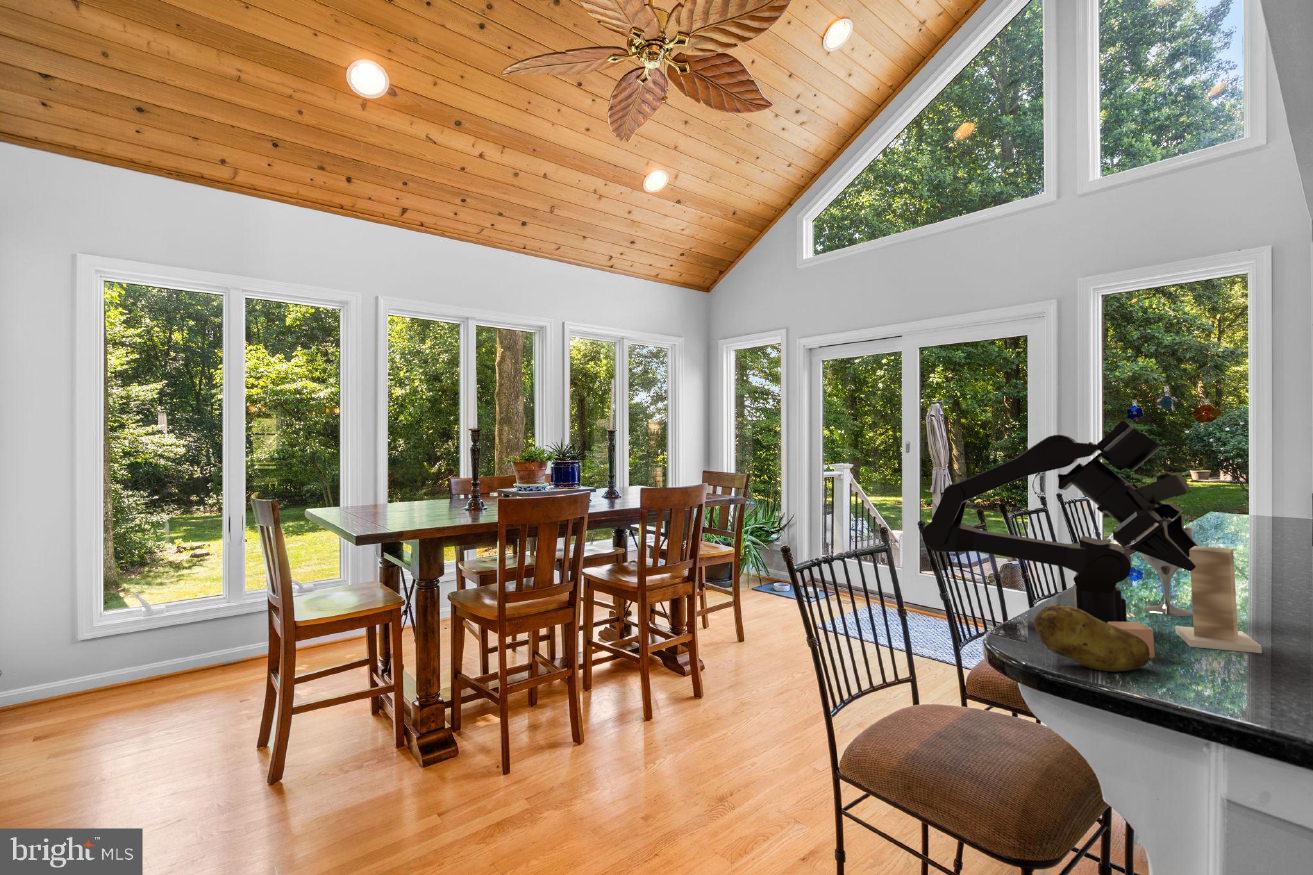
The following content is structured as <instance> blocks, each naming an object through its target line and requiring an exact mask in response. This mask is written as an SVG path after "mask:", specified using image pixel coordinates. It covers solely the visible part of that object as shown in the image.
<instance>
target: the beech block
mask: <svg viewBox="0 0 1313 875" xmlns="http://www.w3.org/2000/svg"><path fill="white" fill-rule="evenodd" d="M1189 554H1190V558H1189V559H1190V560H1191V561H1192V562H1193V563H1194V564H1195V565H1196V568H1195V569H1193V570H1192V571H1190V582H1191V583H1190V585H1191V586H1190V588H1191V602H1192V603H1191V604H1192V612H1193V615H1192V618H1193V620H1192V621H1193V623H1192V624H1193V627H1194V636H1199V637H1205V638H1212V639H1219V640H1225V641H1232V642H1235V640H1236V638H1237V636H1238V631H1239V626H1238V624H1239V623H1238V606H1237V591H1236V577H1235V576H1236V574H1235V560H1234V559H1235V558H1234V548H1229V547H1212V546H1199V545H1198V546H1194V547H1192V548H1191V549H1190V550H1189Z"/></svg>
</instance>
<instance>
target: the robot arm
mask: <svg viewBox="0 0 1313 875" xmlns="http://www.w3.org/2000/svg"><path fill="white" fill-rule="evenodd" d="M1161 448H1163V446H1161V445H1160V444H1159V443H1157V442H1156V441H1155V440H1153V439H1152V438H1150V436H1148V435H1147V434H1145V433H1143V431H1138V430H1137V429H1136V428H1134V427H1133V426H1132V425H1131V424H1129V423H1127V421H1125V420H1121V421H1120V422H1118V423H1117V424H1116V425H1115V426H1114V428H1113V429H1112V430H1111V431H1110V432H1109V433H1107V435H1106V436H1104V437H1103V438H1102V439H1101V440H1100V441H1099V442H1098V443H1093V442H1092V441H1089V442H1088V443H1087V442H1077V441H1076V440H1075V439H1074V438H1073V437H1071V436H1069V435H1064V434H1054V435H1049V436H1047V437H1045V438H1043V439H1042V440H1040V441H1039V442H1038V443H1036V444H1034V445H1033V446H1031V447H1029V448H1028V449H1027V450H1025V451H1023V453H1021V454H1019V455H1018V456H1017V457H1014V458H1012V459H1011V460H1008V461H1006V462H1004V463H1001V464H998V465H997V466H993V467H991V468H989V469H986V470H984V471H983V472H980V473H978V474H975V475H973V476H970V477H968V478H965V479H964V480H963V479H962V480H961V481H959V482H955V483H951V484H948V485H947V486H946V487H945V488H944V490H943V494H942V497H941V499H940V501H939V503H938V506H937V508H936V509H935V512H934V513H933V516H932V518H931V521H930V522H929V523H928V524H927V525H925V527H924V528H923V530H922V540H923V543H924V544H925V545H926V547H927V548H928V549H929V550H931V551H934V552H936V553H937V552H938V553H963V552H966V553H968V552H979V553H983V554H989V555H995V556H1001V557H1006V558H1011V559H1018V560H1022V561H1029V562H1033V563H1038V564H1039V563H1040V564H1045V565H1052V566H1056V567H1061V568H1062V567H1063V568H1065V569H1067V570H1071V571H1073V572H1074V573H1075V575H1074V577H1073V579H1072V580H1073V582H1074V583H1073V596H1074V608H1077V609H1080V610H1083V611H1085V612H1087V613H1089V614H1090V615H1092V616H1093V617H1095V618H1097V619H1099V620H1101V621H1103V622H1106V623H1107V624H1108V621H1109V622H1128V619H1127V618H1128V617H1127V616H1128V614H1127V600H1126V599H1125V598H1124V597H1123V596H1122V590H1121V589H1120V587H1119V586H1117V584H1118V583H1119V584H1120V583H1121V582H1122V581H1124V580H1126V579H1127V578H1128V577H1129V576H1130V573H1131V569H1132V566H1133V565H1132V564H1133V563H1132V562H1133V561H1132V557H1131V555H1130V553H1129V551H1128V550H1126V549H1125V548H1128V547H1129V548H1128V549H1129V550H1131V551H1135V552H1138V553H1139V554H1140V553H1143V554H1146V555H1148V556H1151V557H1154V558H1157V559H1159V560H1162V561H1164V562H1167V563H1170V564H1172V565H1175V566H1177V567H1180V569H1182V570H1185V571H1188V572H1191V571H1192V570H1193V569H1195V568H1196V565H1195V564H1194V563H1193V562H1192V561H1191V560H1190V558H1188V557H1190V554H1189V550H1190V549H1191V548H1192V547H1194V546H1199V545H1198V544H1197V542H1196V541H1195V539H1192V537H1191V536H1190V535H1189V534H1188V532H1187V531H1186V530H1185V528H1184V527H1185V517H1186V516H1185V513H1183V512H1184V510H1183V509H1182V508H1180V507H1179V506H1178V505H1177V504H1175V502H1165V500H1167V499H1171V498H1173V497H1180V496H1183V495H1186V494H1188V493H1191V492H1193V490H1192V489H1191V487H1190V485H1189V484H1188V483H1187V482H1188V480H1187V478H1185V477H1183V475H1182V473H1176V474H1173V473H1171V472H1170V471H1166V472H1164V473H1161V474H1158V475H1156V480H1155V482H1150V483H1148V484H1146V485H1143V486H1141V485H1139V484H1138V483H1136V482H1134V483H1133V482H1130V483H1129V482H1128V481H1127V480H1125V479H1124V478H1122V476H1120V475H1119V474H1117V473H1116V472H1115V471H1113V470H1112V468H1110V467H1109V466H1107V465H1106V464H1105V463H1103V462H1102V460H1103V459H1104V460H1105V462H1108V463H1109V464H1110V465H1111V466H1112V467H1114V468H1115V469H1117V470H1118V471H1119V472H1123V471H1124V470H1126V469H1128V470H1129V471H1131V472H1133V471H1135V470H1137V468H1139V467H1140V466H1141V465H1143V464H1144V462H1146V461H1147V460H1149V459H1150V458H1151V457H1152V456H1154V454H1156V453H1157V452H1158V451H1159V450H1161ZM1098 451H1099V453H1098V454H1097V455H1095V454H1096V453H1097V452H1098ZM1093 455H1095V456H1094V457H1093V458H1092V459H1091V460H1090V461H1088V462H1087V463H1086V464H1082V463H1081V462H1078V464H1076V465H1075V466H1073V468H1071V470H1069V471H1068V472H1067V473H1066V474H1061V473H1058V474H1057V478H1058V486H1057V487H1058V490H1062V491H1066V490H1068V489H1069V488H1071V487H1072V486H1074V487H1075V488H1076V489H1078V491H1080V492H1081V493H1082V494H1084V496H1086V497H1088V499H1089V500H1091V502H1093V503H1095V504H1096V510H1098V512H1100V513H1101V514H1102V513H1106V514H1107V515H1108V516H1110V517H1111V518H1112V519H1113V520H1114V521H1116V522H1117V523H1118V524H1119V525H1118V526H1116V527H1115V528H1113V530H1112V539H1113V540H1114V541H1115V542H1116V543H1118V544H1116V543H1113V542H1112V539H1111V538H1108V539H1097V538H1094V537H1091V536H1088V535H1087V536H1086V535H1082V536H1081V537H1080V539H1079V543H1077V542H1076V543H1063V542H1059V541H1050V540H1044V539H1039V538H1032V537H1025V536H1019V535H1012V534H1007V533H1000V532H995V531H994V532H993V531H986V530H981V529H980V528H979V529H978V528H975V527H974V526H972V525H969V524H968V523H965V522H962V521H963V520H964V519H963V518H964V515H965V511H966V507H967V504H968V501H969V500H970V499H973V498H976V497H978V496H981V495H983V494H985V493H988V492H991V491H993V490H996V489H997V488H1001V487H1002V486H1005V485H1007V484H1010V483H1013V482H1015V481H1017V480H1020V479H1022V478H1025V477H1028V476H1031V475H1032V476H1033V475H1037V474H1040V473H1045V472H1051V471H1055V470H1060V469H1062V468H1063V469H1064V468H1066V467H1069V466H1071V465H1073V464H1075V463H1076V462H1077V461H1078V460H1079V459H1082V458H1088V457H1092V456H1093ZM1162 501H1164V502H1162ZM1181 513H1182V514H1181ZM1133 541H1134V542H1135V543H1134V544H1132V543H1133ZM1111 542H1112V543H1111ZM1131 544H1132V545H1131ZM1187 556H1188V557H1187Z"/></svg>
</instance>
